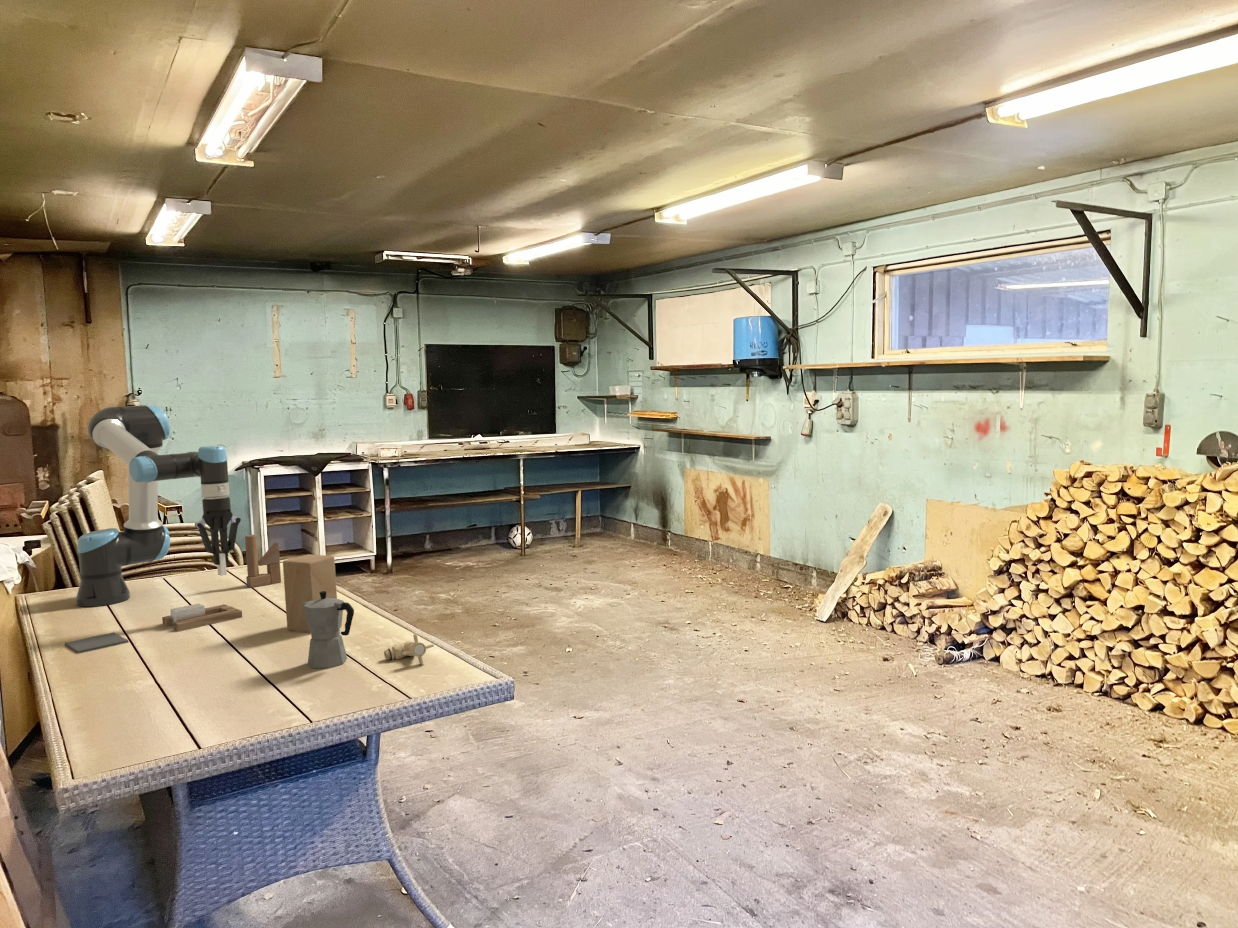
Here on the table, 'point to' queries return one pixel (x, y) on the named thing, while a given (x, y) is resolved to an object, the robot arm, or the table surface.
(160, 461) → the robot arm
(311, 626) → the coffeepot
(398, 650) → the valve
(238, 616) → the slot board
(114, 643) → the rubber mat
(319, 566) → the wooden block
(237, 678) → the table surface
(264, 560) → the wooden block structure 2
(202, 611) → the aluminium block
